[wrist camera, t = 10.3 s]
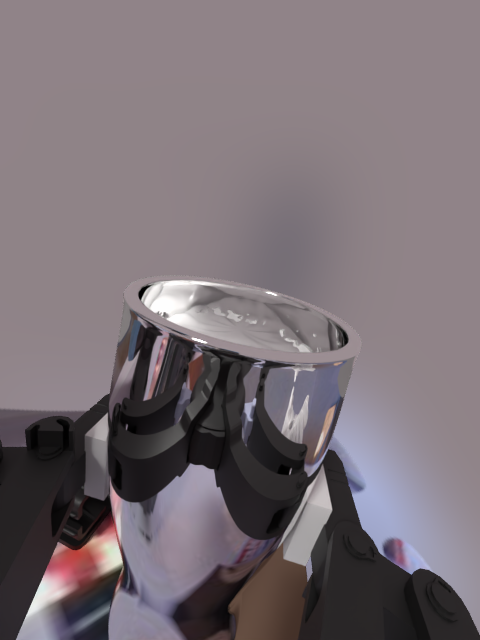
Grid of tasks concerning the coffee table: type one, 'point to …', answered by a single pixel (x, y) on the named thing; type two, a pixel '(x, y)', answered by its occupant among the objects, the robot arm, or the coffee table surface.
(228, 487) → the beer glass
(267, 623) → the walnut board
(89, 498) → the end cap
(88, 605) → the coffee table surface
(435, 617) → the robot arm
